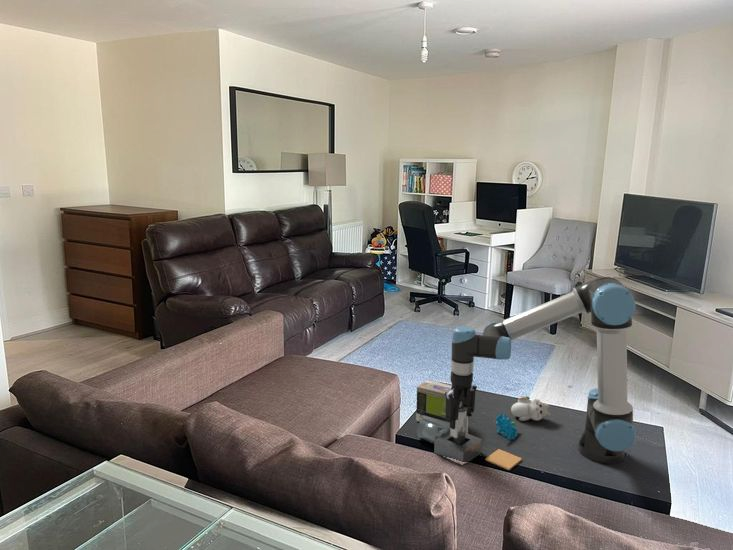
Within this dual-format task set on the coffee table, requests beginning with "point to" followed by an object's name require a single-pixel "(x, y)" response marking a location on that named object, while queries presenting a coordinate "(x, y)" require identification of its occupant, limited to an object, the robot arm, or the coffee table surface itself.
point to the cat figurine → (530, 409)
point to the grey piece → (449, 441)
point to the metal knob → (461, 425)
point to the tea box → (432, 402)
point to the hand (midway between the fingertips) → (459, 434)
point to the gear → (506, 427)
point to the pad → (503, 459)
